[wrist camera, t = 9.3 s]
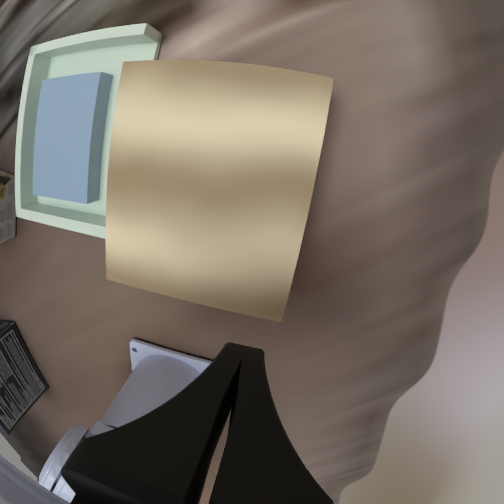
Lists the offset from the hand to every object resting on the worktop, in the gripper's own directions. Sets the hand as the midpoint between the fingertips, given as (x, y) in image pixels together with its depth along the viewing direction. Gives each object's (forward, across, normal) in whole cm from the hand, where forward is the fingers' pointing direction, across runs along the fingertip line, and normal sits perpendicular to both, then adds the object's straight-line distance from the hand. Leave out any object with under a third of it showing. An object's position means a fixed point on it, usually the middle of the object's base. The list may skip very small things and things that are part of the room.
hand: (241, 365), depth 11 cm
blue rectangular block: (+8, +16, -7) cm, 19 cm away
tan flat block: (+10, +4, -5) cm, 12 cm away
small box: (+10, +29, +20) cm, 37 cm away
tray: (+10, +15, -8) cm, 19 cm away
